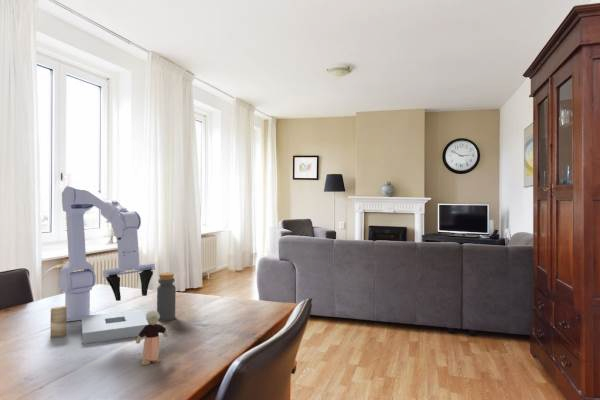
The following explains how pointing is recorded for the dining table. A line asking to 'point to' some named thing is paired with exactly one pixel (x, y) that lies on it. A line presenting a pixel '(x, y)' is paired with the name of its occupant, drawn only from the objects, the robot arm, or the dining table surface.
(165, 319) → the bottle
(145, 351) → the grandmother figurine
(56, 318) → the peg
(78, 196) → the robot arm
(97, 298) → the dining table surface
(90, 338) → the socket block
